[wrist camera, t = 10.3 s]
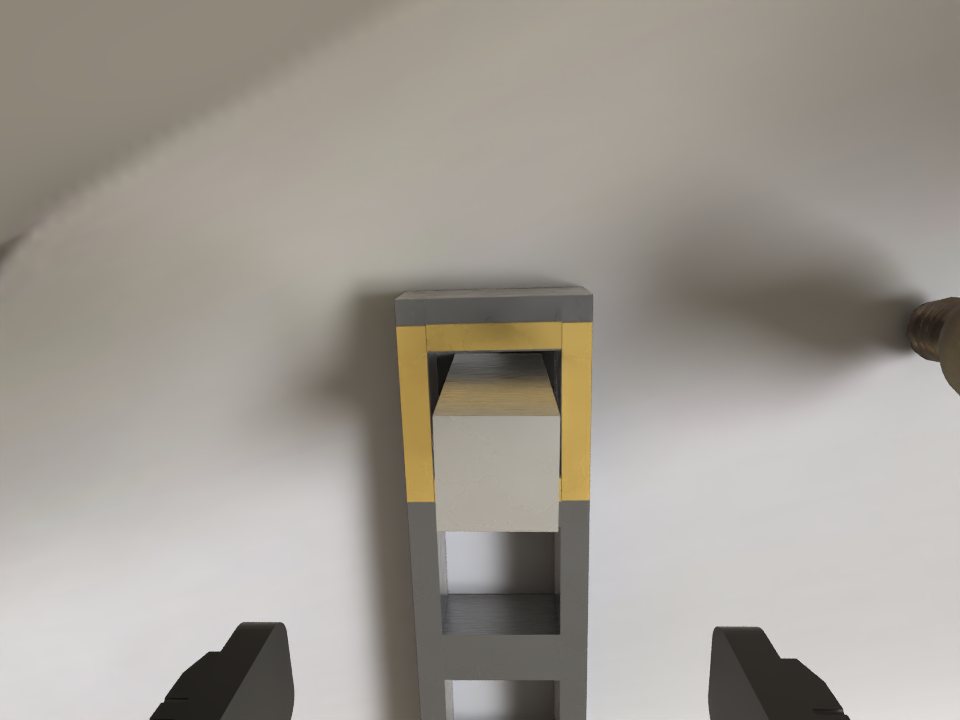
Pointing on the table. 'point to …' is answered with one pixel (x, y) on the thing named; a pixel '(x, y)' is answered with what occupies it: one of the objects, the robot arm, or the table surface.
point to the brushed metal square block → (497, 445)
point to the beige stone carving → (938, 336)
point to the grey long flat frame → (564, 615)
